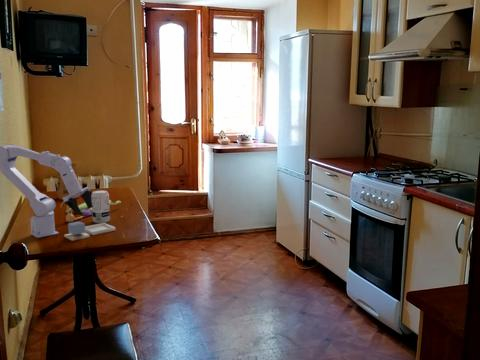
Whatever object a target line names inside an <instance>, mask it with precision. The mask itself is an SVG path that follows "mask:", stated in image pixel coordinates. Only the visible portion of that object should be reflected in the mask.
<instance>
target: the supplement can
mask: <svg viewBox="0 0 480 360" xmlns="http://www.w3.org/2000/svg"><path fill="white" fill-rule="evenodd" d="M91 200H92V206H93V207H92V222H93V223H95V224H100V223H106V224H107V223H109V222H110V221H111V211H110V209H111V208H110V206H111V205H109V200H110V194H109V192H108V191H107V190H94V191H92V194H91Z"/></svg>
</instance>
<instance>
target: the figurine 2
mask: <svg viewBox="0 0 480 360" xmlns="http://www.w3.org/2000/svg"><path fill="white" fill-rule="evenodd" d="M121 203H122V202H121V200H116V201H115V202H112V200H111V199H109V206H111V205H112V206H113V205H118V204H121ZM78 206H79V209H80V212H81V214H83V216H91V215H92V208H88V207H87V205H86V203H85V202H83V203H81V204H78ZM68 210H69V212H71V208H70V207H69V208H68ZM65 213H68V211H67V209H66V211H65Z"/></svg>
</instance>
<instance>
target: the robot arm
mask: <svg viewBox="0 0 480 360" xmlns="http://www.w3.org/2000/svg"><path fill="white" fill-rule="evenodd" d="M18 157H23V158H28V159H31V160H35V161H37V162H38V163H39V164H40V165H42V166H46V167H49V168H53V169H54V170H55V171H57V172H59V173H60V175H61V177H62V180H63V182H64V184H65V186H66V188H67V190H68V192H69V194H70V195H68V196H65V197H63V201H64V202H63V203H64V204H65V205H66V206H67V205H68V206H69V208H71V209H72V212H74V213H75V214H76V215H80V214H82V212H81V211H80V209H79V207H78V206H79V204H77V203H78V201H77V200H78V199H77V198H74V197H76V196H79V197H80V198H81V199H82V200H83V201H84V203H86V205H87V207H88V208H87V209H89V208H92V207H93V206H92V198H91V195H92V193H93V191H92V190H91V188H90V186H87V187H84V188H82V185H81V184H80V182H79V178H78V179H77V177H76V175H75V173H74V171H73V169H72V167H71V165H72V163H73V162H72V159H71V158H70V157H68V156H66V155H62V156H61V154H54V153H51V152H50V151H48V150H45V151H41V152H37V151H35V150H32V149H29V148H26V147H23V146H20V145H17V144H16V145H15V144H11V143H10V144H7V145H0V172H1V174H2V175H3V176H4V177H5V178H6V179H7V180H9V181H10V182H11V184H12V185H14V186H15V188H16V189H17V190H18V191H20V193H21V194H23V196H24V197H25V198H27V199H28V201H29V206H30V207H31V209H32V211H33V213H34V214H35V215H34V216H31V217H30V222H29V223H30V235H31V236H33V237H35V238H37V239H38V238H43V237H48V236H53V235H58V234H59V232H58V231H57V230H56V227H55V226H56V225H55V224H56V223H55V212H54V210H55V208H56V207H57V206H56V203H57V202H56V201H55V200H54V199H53V198H51V197H49V196H47V195H46V194H44V193H41V192H40V191H39V190H38V189H37V188H36V187H35V186H34V185H33V184H32V183H31V182H30V181H29V180H28V179H27V178H26V177H25V175H23V174H22V173H21V172H20V171H19V170H18V169H17V168H16V167H15V166H16V164H15V163H16V161H17V158H18ZM77 193H79V194H78V195H76V196H75V194H77ZM73 196H74V197H73ZM65 201H66V202H65Z"/></svg>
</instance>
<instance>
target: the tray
mask: <svg viewBox="0 0 480 360" xmlns="http://www.w3.org/2000/svg"><path fill="white" fill-rule="evenodd" d="M114 231H115V232H116V226H114V225H111V224H108V223H107V222H106V223H95V224H90V225H85V233H87V234H89V235H90V236H97V235H102V234H105V233H110V232H114Z"/></svg>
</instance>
